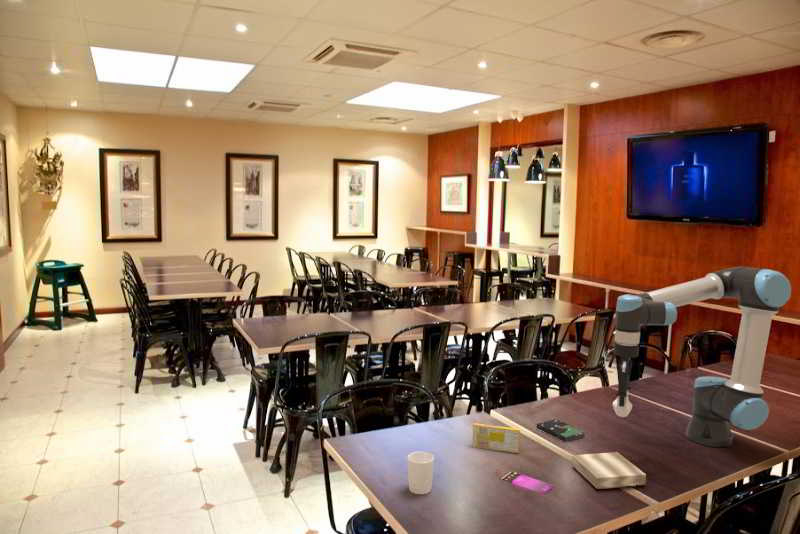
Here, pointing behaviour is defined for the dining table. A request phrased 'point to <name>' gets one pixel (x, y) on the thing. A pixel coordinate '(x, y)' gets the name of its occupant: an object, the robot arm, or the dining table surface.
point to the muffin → (628, 406)
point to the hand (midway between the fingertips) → (621, 411)
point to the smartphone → (527, 482)
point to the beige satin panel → (608, 470)
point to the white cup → (420, 472)
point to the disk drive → (561, 430)
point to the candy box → (496, 438)
